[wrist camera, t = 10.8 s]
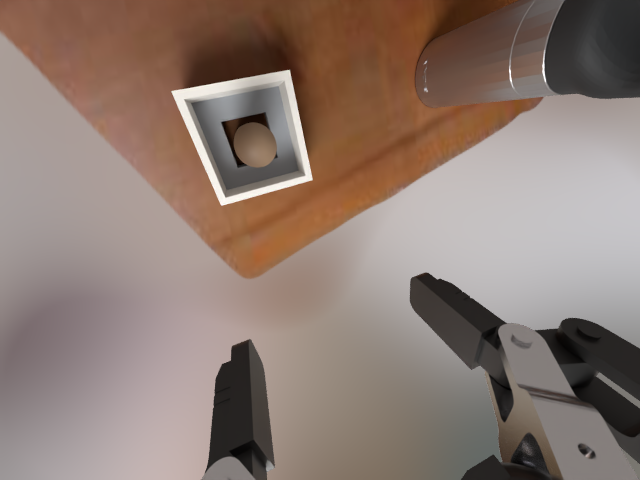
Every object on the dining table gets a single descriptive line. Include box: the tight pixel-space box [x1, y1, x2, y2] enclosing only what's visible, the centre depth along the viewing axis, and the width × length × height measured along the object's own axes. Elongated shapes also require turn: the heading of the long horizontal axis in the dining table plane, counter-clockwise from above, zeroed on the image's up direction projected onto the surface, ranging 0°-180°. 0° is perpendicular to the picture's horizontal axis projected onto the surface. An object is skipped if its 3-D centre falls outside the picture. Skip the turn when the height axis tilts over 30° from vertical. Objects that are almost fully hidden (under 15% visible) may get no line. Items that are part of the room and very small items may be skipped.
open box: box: [171, 70, 313, 206], centre depth 28 cm, size 12×12×6 cm
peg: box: [234, 123, 277, 168], centre depth 26 cm, size 4×4×11 cm
